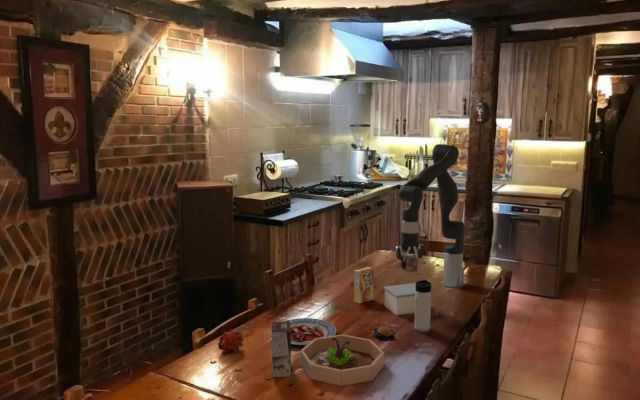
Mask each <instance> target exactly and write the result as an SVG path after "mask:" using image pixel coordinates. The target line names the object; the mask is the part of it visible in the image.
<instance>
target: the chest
mask: <svg viewBox="0 0 640 400" xmlns="http://www.w3.org/2000/svg"><path fill="white" fill-rule="evenodd" d="M384 307H385V308H386V309H387V310H389V311H390V312H391V313H393V314H394V315H395V316H402V315H403V316H405V315H411V314H415V295H411V296H404V297H395V296H393V295H392V294H391V293H389V292H388V291H386V290H385V289H384Z"/></svg>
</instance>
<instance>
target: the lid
mask: <svg viewBox="0 0 640 400" xmlns="http://www.w3.org/2000/svg"><path fill="white" fill-rule="evenodd" d="M382 289H383V290H384V291H385V290H386V291H388V292H389V293H391V294H392V295H393V296H395V297H404V296H411V295H415V289H416V282H412V283H404V284H395V285H388V286H387V285H386V286H383V288H382Z"/></svg>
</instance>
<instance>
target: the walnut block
mask: <svg viewBox="0 0 640 400" xmlns="http://www.w3.org/2000/svg"><path fill="white" fill-rule="evenodd" d="M405 261H406V269H402V268H401V270H403V271H404V272H406V273H412V272H418V266H417V258H416V257H415V256H413V254H408V256H407V257H406V260H405Z"/></svg>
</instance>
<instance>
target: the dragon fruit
mask: <svg viewBox="0 0 640 400" xmlns="http://www.w3.org/2000/svg"><path fill="white" fill-rule="evenodd" d="M243 346H244V338H243V333H242V332H241V331H240V330H238V329H237V330H236V329H235V330H232V329H229V331H224V332H223V334H222V335H221V336H220V337H219V342H218V343H217V347H218V349H219V350H220V351H221V354H229V352H233V353H234V354H235V353H237V351H238V350H239V348H241V347H243Z"/></svg>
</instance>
